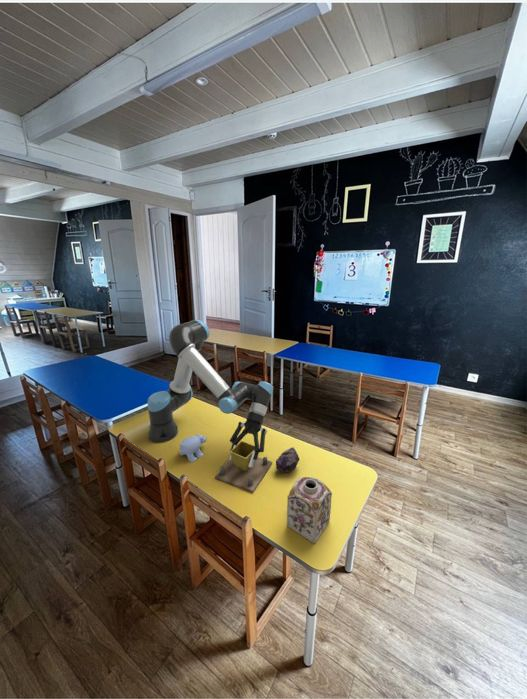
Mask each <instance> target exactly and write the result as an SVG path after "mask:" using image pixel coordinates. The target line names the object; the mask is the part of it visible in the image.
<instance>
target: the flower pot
mask: <svg viewBox="0 0 527 699" xmlns="http://www.w3.org/2000/svg"><path fill="white" fill-rule="evenodd" d="M230 450H231V449H230ZM253 451H255V445H252V444H251V443H248V442H245V441H242V440H241V441H240V442H239V443H238V444H237V446H236V447H235V448H234V449H232V450H231V451H229V452H230V455H231V458H232V461H233V463H234V464H235V465H236V466H237V467H238V468H240V469H242V470H244V471H246V470H247V469H248V468H249V463H250V460H251V457H252V453H253Z"/></svg>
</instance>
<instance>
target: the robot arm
mask: <svg viewBox="0 0 527 699" xmlns="http://www.w3.org/2000/svg"><path fill="white" fill-rule="evenodd" d="M209 337H210V328H209V327H208V325H207V324H206V323H205V322H204V321H203V320H201V319H192V320H190V321H188V322H184V323H181V324H180V323H179V324H177V325H175V326H174V327H172V329H171V330H170V332H169V336H168V341H169V345H170V348H171V349H172V351H173V353H174V354H175V355H176V357H177V358H178V361H177V363H176V364H177V365H176V369H175V373H174V378H173V380H172V381H170V383H169V386H168V390H160V391H157V392H156V391H155V392H154V393H152V394H151V395H150V396H149V397H148V399H147V411H148V418H149V422H150V423H149V424H150V425H149V431H148V439H149V441H151V442H152V443H166V442H169V441H170V440H173V439H175V437H177V436H178V434H179V433H178V432H179V431H178V429H179V428H178V425H177V423H176V422H175V420H174V415H173V414H174V413H173V412H175V411H177V410H178V409H180V408H182V407H183V406H184V405H186V404H187V403H189V402H190V401H191V400H192V398H193V394H194V393H193V389H192V387H191V385H190V384H191V383H190V381H191V378H192V374H193V372H194V374H195V375H196V376H197V377H198V378H199V379H200V380H201V381H202V383H203V384H204V385H205V386H206V387H207V389H209V391H211V393H212V394H213V395H214V396H215V397H216V399H217V400H218V407H219V410H220V412H222V413H223V414H226V415H228V414H232V413H233V412H234V411H236V410H237V409H238V408H239V406H241V405H242V404H243V403H244V402H245V401H246V400H249V401H252V402H251V405H250V408H249V412H248V414H247V417H246V421H244V422H242V421H238V425H237V427H236V429H235V430H234V432H233V433H232V435H231V437H230V439H229V442H230V443H231V444H232V445H231V448H230V451H231V450H232V449H234V448H235V447H236V446H237V445H238V444H239V443H240V442H241V441H242V439H243V438H245V436H246V435H248V434H250V435H252V436H253V442H254V446H255V451H253V453H252V457H251V460H250V463H249V467H253V463H254V460H257V457H259V453H264V452H265V443H266V442H265V441H266V440H265V439H266V434H267V432H268V430H267V429H266V428H264V427H262V426H263V423H264V419H265V415H266V413H267V410H268V407H269V402H270V401H271V398H272V394H273V390H274V386H273V385H272V384H271V383H269V382H267V381H259V382H258V384H253V383H248V382H244V381H235V382H234V383H233V385H232V386H231V387H230V386H229V385H228V384H227V383H226V381H225V379H223V378H222V377H221V375H219V373H218V372H217V371H216V370H215V369H214V367H212V365H211V364H210V363H209V362H208V361H207V359H205V358H204V356H203V355H202V354H201V353H200V352H199V351H201V349H202V348H203V344H204V342H205V341H207V339H209ZM243 428H244V429H243ZM242 429H243V430H242ZM259 432H260V441H259ZM230 451H229V452H230ZM228 460H232V458H231V454H230V455H229V459H228Z"/></svg>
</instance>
